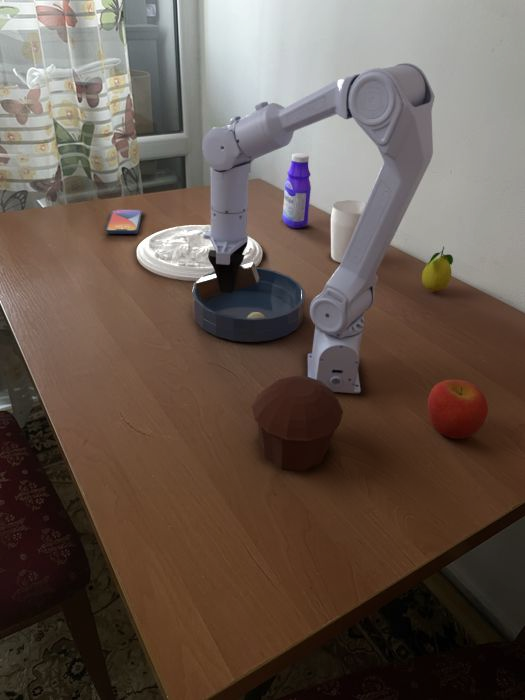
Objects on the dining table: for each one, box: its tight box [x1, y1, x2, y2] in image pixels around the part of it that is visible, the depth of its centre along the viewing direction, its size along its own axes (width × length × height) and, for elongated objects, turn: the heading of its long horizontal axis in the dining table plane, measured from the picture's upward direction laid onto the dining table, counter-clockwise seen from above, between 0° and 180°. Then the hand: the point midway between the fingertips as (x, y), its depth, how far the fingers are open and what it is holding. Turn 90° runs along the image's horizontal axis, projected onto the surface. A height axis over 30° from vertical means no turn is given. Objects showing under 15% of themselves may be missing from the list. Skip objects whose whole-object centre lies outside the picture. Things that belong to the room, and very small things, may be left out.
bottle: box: [282, 152, 312, 229], centre depth 136 cm, size 7×6×17 cm
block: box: [196, 262, 260, 300], centre depth 92 cm, size 3×10×3 cm, turn 85°
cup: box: [330, 199, 367, 263], centre depth 122 cm, size 9×9×12 cm
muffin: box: [251, 375, 344, 472], centre depth 70 cm, size 12×11×10 cm
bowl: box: [191, 266, 306, 343], centre depth 100 cm, size 20×20×5 cm
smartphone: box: [105, 209, 143, 235], centre depth 135 cm, size 7×15×1 cm, turn 6°
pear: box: [421, 246, 454, 293], centre depth 110 cm, size 7×6×10 cm
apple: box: [427, 379, 489, 440], centre depth 75 cm, size 8×8×8 cm
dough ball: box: [247, 312, 264, 318], centre depth 95 cm, size 4×4×4 cm
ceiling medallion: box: [136, 224, 263, 282], centre depth 122 cm, size 28×28×3 cm
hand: (227, 286), depth 92 cm, fingers closed on block, 3 cm apart
